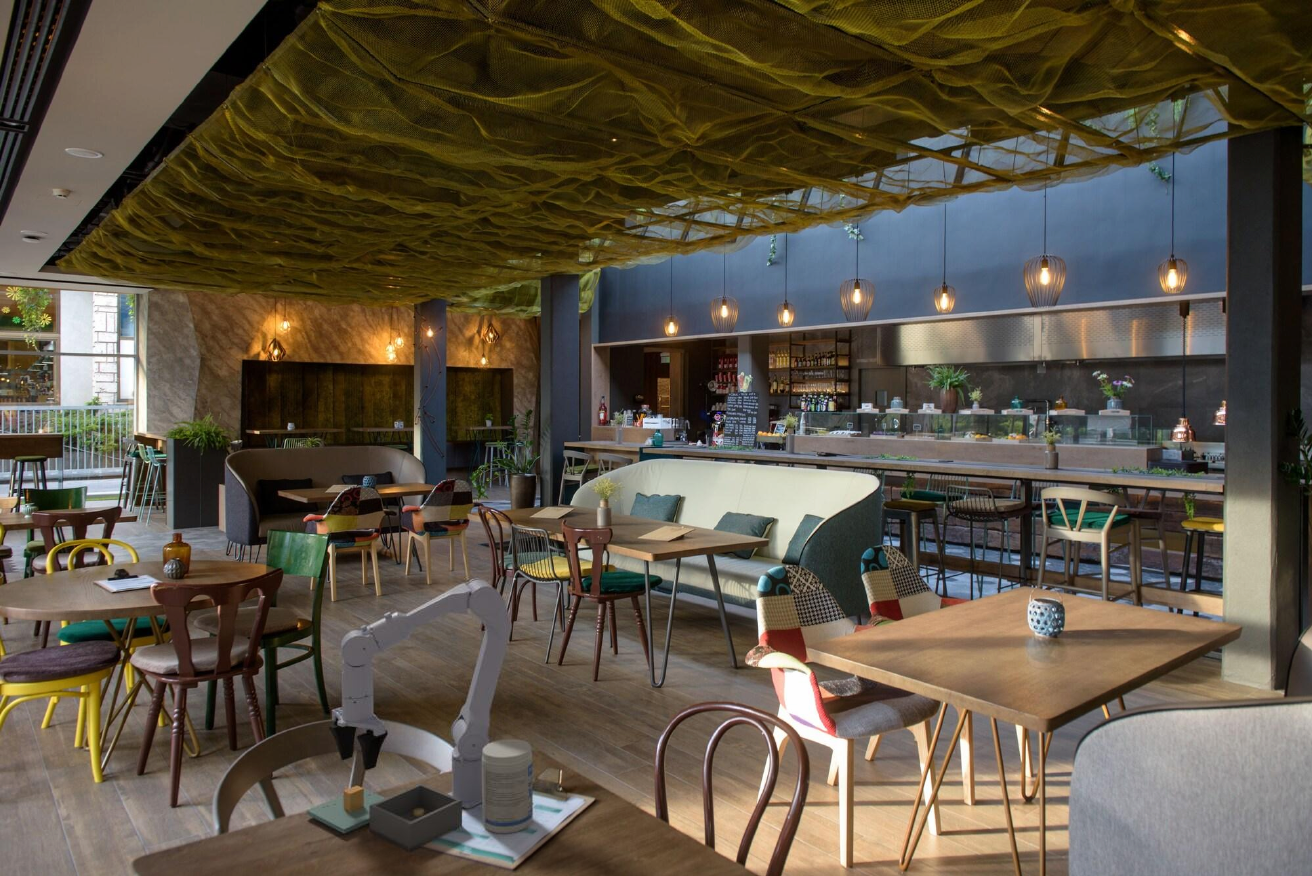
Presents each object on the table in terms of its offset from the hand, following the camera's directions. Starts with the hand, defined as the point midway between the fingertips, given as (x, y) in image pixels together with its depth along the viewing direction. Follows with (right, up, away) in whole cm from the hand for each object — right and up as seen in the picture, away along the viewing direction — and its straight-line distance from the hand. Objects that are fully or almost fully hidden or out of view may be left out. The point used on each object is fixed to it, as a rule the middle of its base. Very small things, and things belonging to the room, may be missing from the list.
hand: (358, 763), depth 168 cm
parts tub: (+13, -11, -5) cm, 17 cm away
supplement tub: (+29, -11, -2) cm, 31 cm away
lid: (-1, -10, 0) cm, 10 cm away
